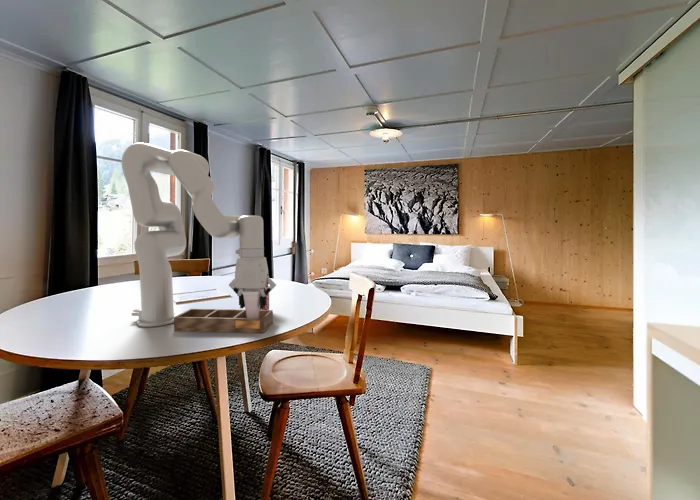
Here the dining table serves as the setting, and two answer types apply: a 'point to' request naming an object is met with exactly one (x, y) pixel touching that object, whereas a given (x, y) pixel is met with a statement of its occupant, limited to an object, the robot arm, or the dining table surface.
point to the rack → (222, 321)
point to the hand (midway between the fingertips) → (252, 307)
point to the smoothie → (252, 302)
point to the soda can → (266, 301)
